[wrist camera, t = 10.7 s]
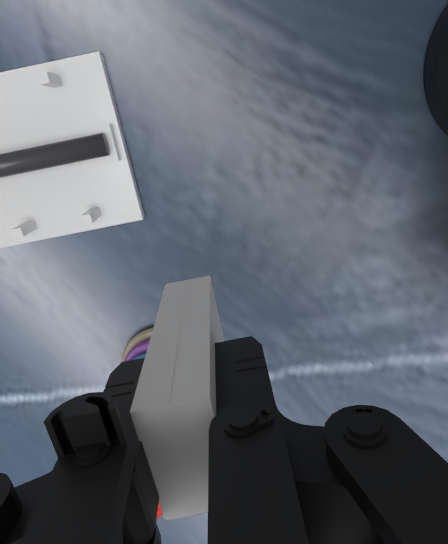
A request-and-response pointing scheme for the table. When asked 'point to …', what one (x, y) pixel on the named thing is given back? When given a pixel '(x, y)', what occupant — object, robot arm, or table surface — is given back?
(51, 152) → the slider track board
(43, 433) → the table surface
